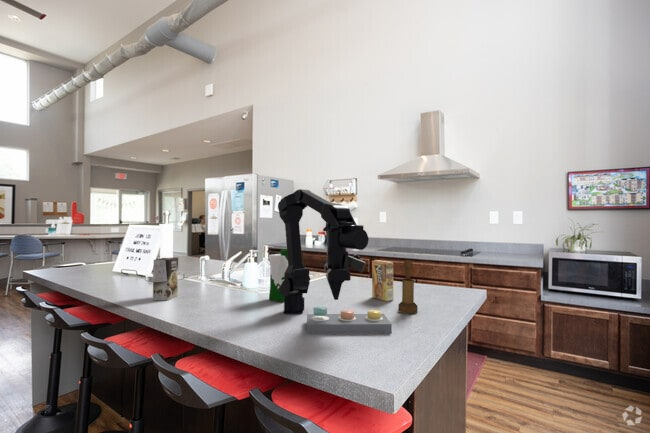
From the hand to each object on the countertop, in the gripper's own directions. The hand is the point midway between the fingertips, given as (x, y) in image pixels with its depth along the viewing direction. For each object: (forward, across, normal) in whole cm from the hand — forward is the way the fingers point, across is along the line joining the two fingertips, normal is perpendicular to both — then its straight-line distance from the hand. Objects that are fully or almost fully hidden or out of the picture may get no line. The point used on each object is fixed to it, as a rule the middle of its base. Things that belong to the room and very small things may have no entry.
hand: (336, 299), depth 103 cm
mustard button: (+5, -1, -11) cm, 12 cm away
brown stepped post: (+8, +17, -27) cm, 33 cm away
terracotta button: (+5, 0, -3) cm, 6 cm away
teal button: (+4, 0, +5) cm, 6 cm away
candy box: (+9, +37, -22) cm, 44 cm away
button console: (+8, 0, -3) cm, 9 cm away
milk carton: (+9, +37, +19) cm, 42 cm away
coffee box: (+10, +41, +66) cm, 78 cm away
